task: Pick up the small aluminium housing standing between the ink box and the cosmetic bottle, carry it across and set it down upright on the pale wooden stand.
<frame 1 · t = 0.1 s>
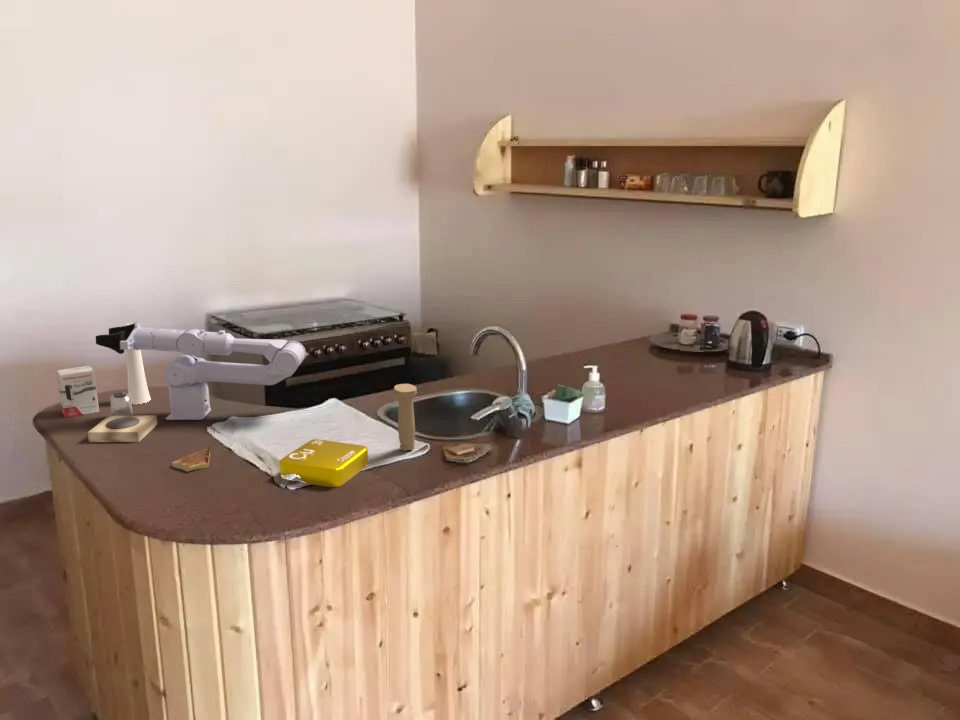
hand: (102, 336, 213), 22 cm above the worktop, tool horizontal, fingers open, 7 cm apart
ink box: (81, 413, 222), on the worktop
cosmetic bottle: (139, 402, 231), on the worktop
housing: (122, 417, 218), on the worktop
shard: (192, 465, 188), on the worktop
handle: (407, 450, 195), on the worktop
element tile: (325, 472, 184), on the worktop
stand: (124, 433, 206), on the worktop
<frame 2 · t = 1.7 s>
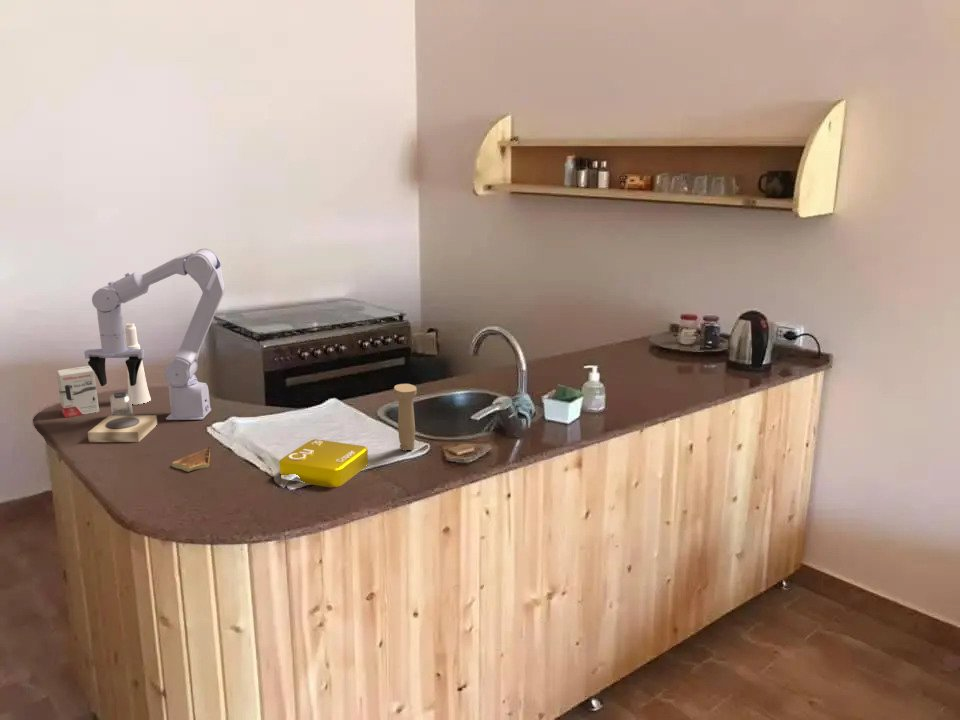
hand: (118, 384, 215), 9 cm above the worktop, tool pointing down, fingers open, 7 cm apart
nothing on the worktop moved.
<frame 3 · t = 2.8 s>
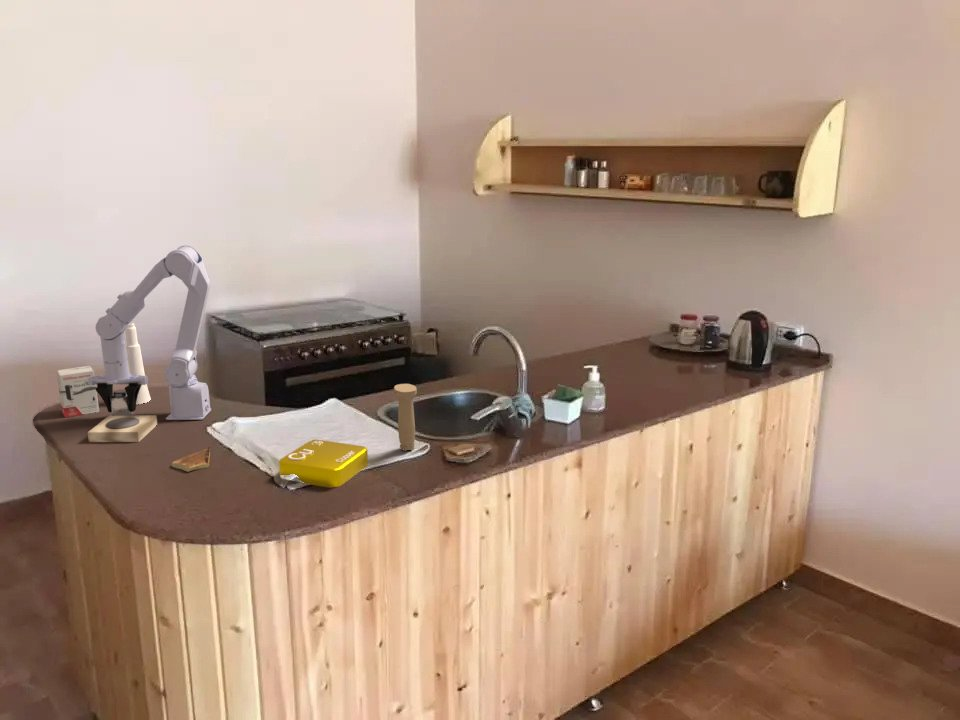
hand: (122, 410, 217), 2 cm above the worktop, tool pointing down, fingers closed on housing, 5 cm apart
housing: (122, 417, 218), on the worktop, touching gripper
everything else where it was.
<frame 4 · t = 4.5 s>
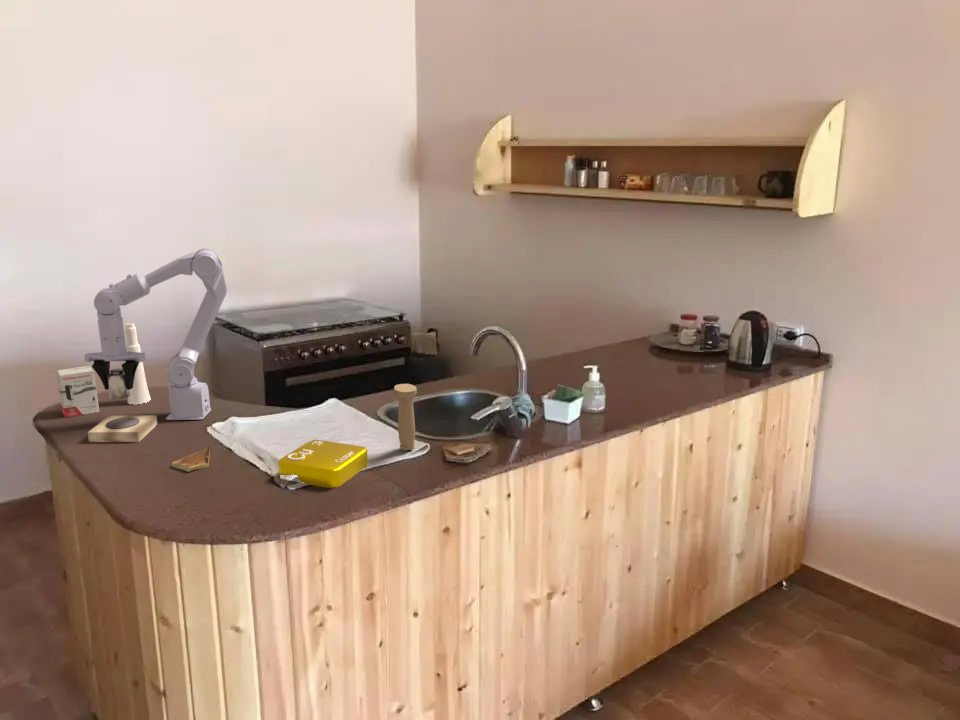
hand: (119, 388, 212), 9 cm above the worktop, tool pointing down, fingers closed on housing, 5 cm apart
housing: (120, 396, 213), point 7 cm above the worktop, touching gripper
everything else where it was.
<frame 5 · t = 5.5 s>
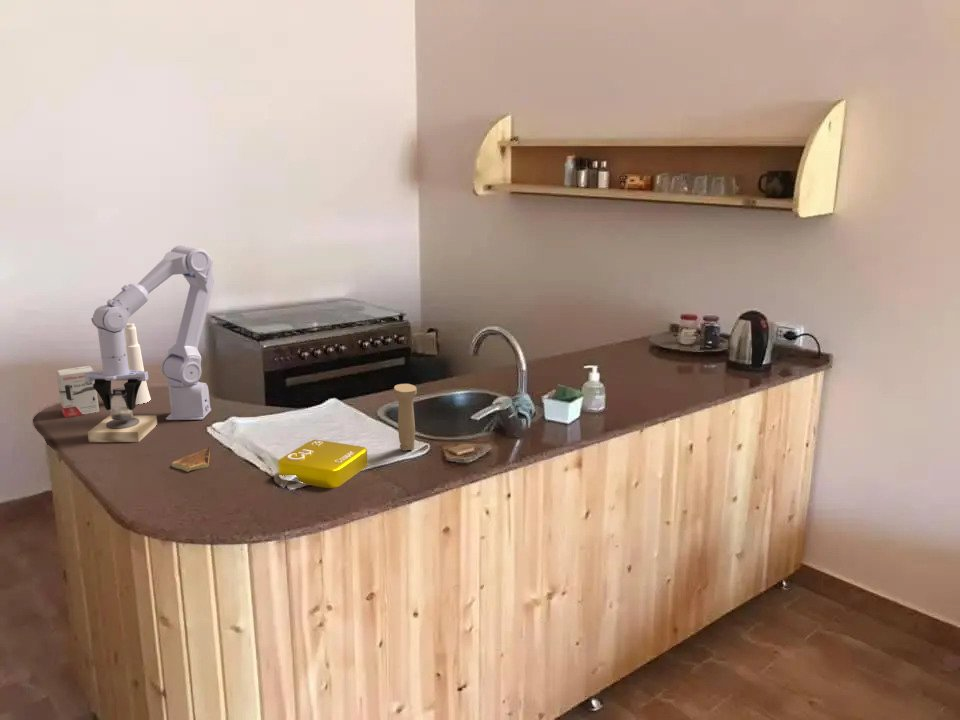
hand: (120, 408, 205), 6 cm above the worktop, tool pointing down, fingers closed on housing, 5 cm apart
housing: (122, 416, 206), point 4 cm above the worktop, touching gripper
everything else where it was.
when the fingers open (6 cm above the worktop, at t = 6.1 s): housing stays where it is, resting on stand.
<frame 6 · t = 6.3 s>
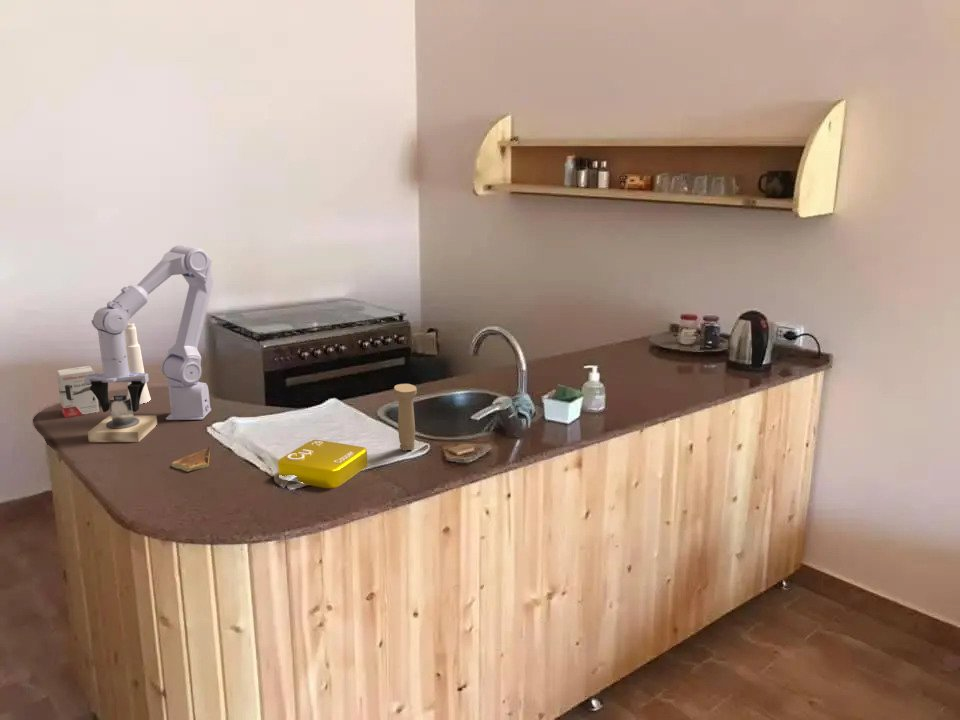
hand: (121, 410, 205), 6 cm above the worktop, tool pointing down, fingers open, 7 cm apart
housing: (123, 422, 206), point 3 cm above the worktop, touching stand
everything else where it was.
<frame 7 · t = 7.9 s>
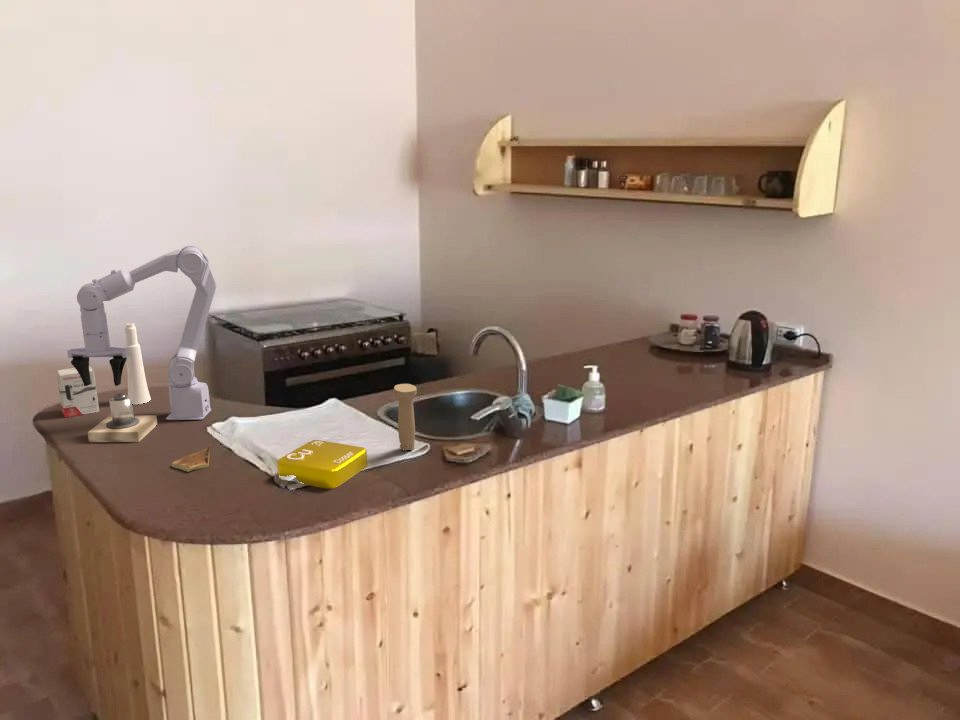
hand: (102, 384, 210), 10 cm above the worktop, tool pointing down, fingers open, 7 cm apart
nothing on the worktop moved.
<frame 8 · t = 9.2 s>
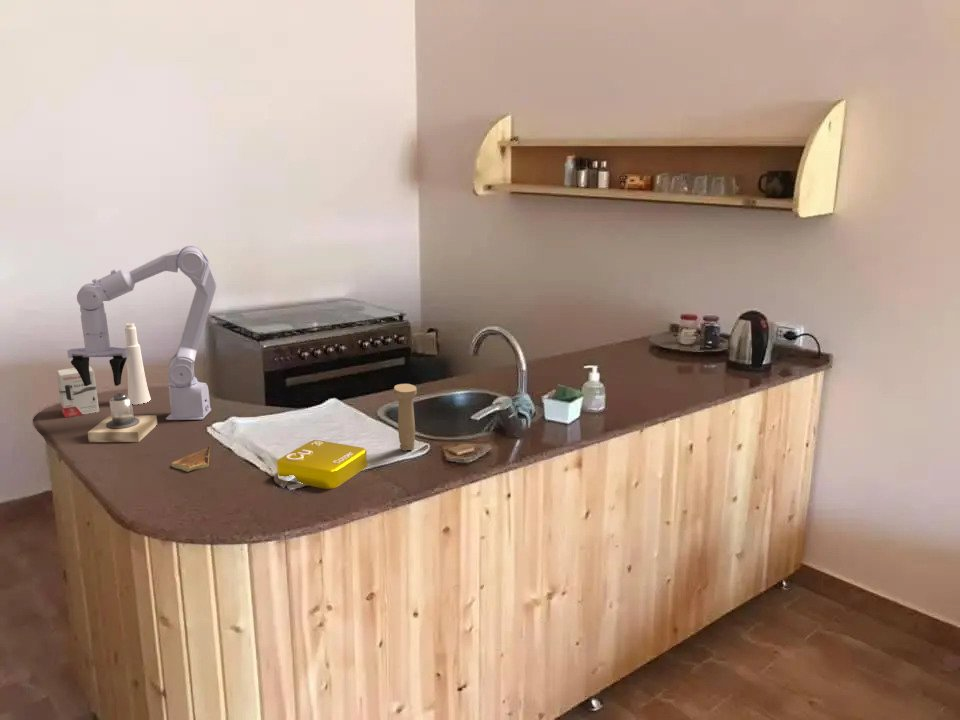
hand: (102, 384, 210), 10 cm above the worktop, tool pointing down, fingers open, 7 cm apart
nothing on the worktop moved.
at the end: housing 0.3 cm off-centre on the stand, point 2.8 cm above the stand's base; housing tilted 0°; the gripper is holding nothing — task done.
